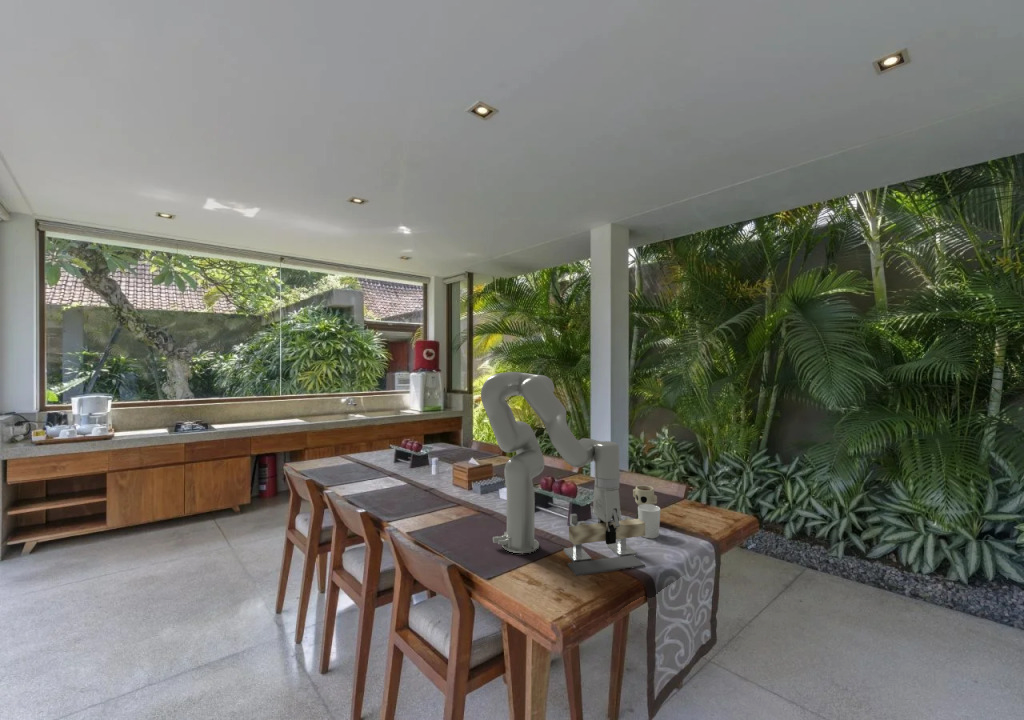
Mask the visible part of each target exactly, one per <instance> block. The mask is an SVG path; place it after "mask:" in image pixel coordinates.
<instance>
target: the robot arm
mask: <svg viewBox="0 0 1024 720" xmlns="http://www.w3.org/2000/svg"><path fill="white" fill-rule="evenodd" d="M554 391H555V384H554V382H553V380H552V379H551V378H550V377H548V376H546V375H543V374H534V373H527V372H518V371H509V372H507V371H506V372H499V373H494V374H492V375H491V376H489V377H488V378H487V379H486V380H485V381H484V383H483V384H482V387H481V391H480V398H481V402H482V403H481V404H482V406H483V408H484V411H485V413H486V415H487V417H488V420H489V423H490V426H491V428H492V431H493V434H494V437H495V439H496V442H497V445H498V447H499V448H500V450H501V451H503V452H504V453H513V452H515V453H516V455H513V456H512V457H510V458H509V460H507V461H506V463H505V465H504V474H503V475H504V480H505V486H506V488H505V489H506V531H504V533H503V534H502V535H500V536H498V535H497V536H492V542H493V544H494V543H495V544H496V543H497V545H501V546H502V547H503V548H504V549H505V550H507V551H509V552H513V553H522V554H521V555H524V554H523V553H529V554H532V553H531V552H533V553H535V552H537V551H538V550H539V547H540V542H539V541H538V540H537V539H535V534H536V533H535V530H536V529H535V528H536V527H535V521H536V520H535V519H536V517H535V516H536V515H535V514H536V513H535V509H536V506H535V503H536V501H535V500H536V497H535V489H534V483H533V479H534V478H535V477H537V476H539V475H540V474H541V473H543V471H544V469H545V464H546V463H545V459H544V455H543V452H542V450H541V446H540V445H539V442H538V439H537V437H536V435H535V432H534V430H533V428H532V427H531V425H530V424H528V423H527V422H524V421H521V420H516V418H515V416H514V415H515V414H514V413H513V410H512V408H511V407H510V405H509V403H507V402H506V398H508V397H513V396H519V397H523V399H524V400H525V401H526V402H527V404H528V405H529V406H530V407H531V408H532V410H533V411H534V412H535V413H536V415H537V416H538V417H539V419H540V420H541V422H542V423H543V424H544V425H545V428H546V432H547V435H548V437H549V440H550V442H551V444H552V445H553V447H554V449H555V450H556V451H557V453H558V454H559V455H560V457H561V458H562V459H563V460H564V461H565V462H566V463H567V464H568V465H570V466H571V467H573V468H579V469H580V468H582V467H585V466H586V465H588V464H590V463H592V462H594V488H593V499H592V500H593V502H592V512H593V514H594V515H595V516H596V517H597V519H598V520H597V523H606V526H607V531H606V541H605V544H606V545H608V544H614V543H616V542H617V539H616V531H617V528H618V527H619V526H620V524H619V520H620V511H621V500H620V491H619V489H620V445H619V444H618V443H617V442H614V441H609V440H608V441H607V440H603V441H602V440H596V439H592V438H586V437H585V438H581V439H577V438H576V437H575V435H574V434H573V433H572V431H571V430H570V428H569V426H568V422H567V410H566V407H565V406H564V404H562V402H561V401H560V400H559V399H558V397H557V396H556V395H555V394H554ZM610 523H613V524H612V525H610ZM503 548H502V549H503ZM504 549H503V550H504ZM537 549H538V550H537ZM505 550H504V551H505ZM536 550H537V551H536ZM507 551H506V552H507ZM534 551H535V552H534ZM509 552H508V553H509ZM513 553H512V554H513Z"/></svg>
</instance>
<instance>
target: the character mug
mask: <svg viewBox="0 0 1024 720" xmlns="http://www.w3.org/2000/svg"><path fill="white" fill-rule="evenodd" d="M632 497H633V498H635V499H634V500H635V503H636V504H637V507H638V506H639V505H642V504H651V505H655V504H657V503H658V496H657V495H656V494H655V488H654V487H653V486H649V485H643V484H642V485H640V484H639V485H636V486H635V488H634V489H632ZM635 519H638V508H637V509H636V517H635Z"/></svg>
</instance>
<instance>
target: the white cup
mask: <svg viewBox="0 0 1024 720" xmlns="http://www.w3.org/2000/svg"><path fill="white" fill-rule="evenodd" d="M637 509H638V519H640V520H641V521H643V522H644V523H645V536H641V537H642V538H646V539H656V538H658V537H659V535H660V523H661V507H660V506H658V505H655V504H653V505H651V504H642V505H639V506H638V505H637Z"/></svg>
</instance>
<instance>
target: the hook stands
mask: <svg viewBox="0 0 1024 720" xmlns="http://www.w3.org/2000/svg"><path fill="white" fill-rule="evenodd" d="M631 519H632V518H631V516H623V517H622V510H620V520H619V521H622V520H631ZM579 525H587V523H586V521H584V520H581V521H578V515H577V513H570V514H569V526H579ZM582 545H583V544H576V545H574V544H573V543H572V546H573V547H564V548H563V553H564V554H565V555H566V556H567V557H568V558H569V560H571V563H574V562H582V561H590V560H593V557H591V556H590V555H589V554H588V553H587V552H586V551H585V550H584V548H582V547H583V546H582ZM606 545H607V548H609V549H610V550H611V551H612V552H613V553H614V554H615V555H617V557H621V556H629V555H637V554H638V553H637V552H636V550H634V549H633V548H632V547H630V546H629V545H628V544H627V538H623V539H617V541H616V543H614V544H606Z"/></svg>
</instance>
